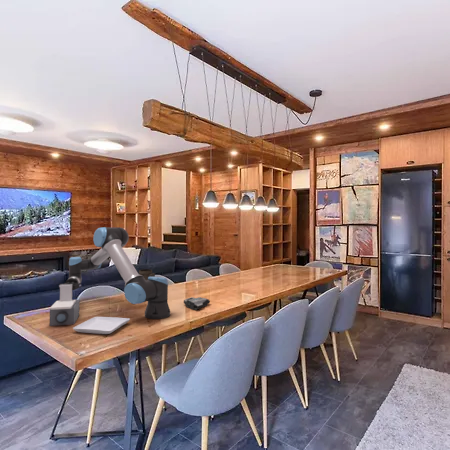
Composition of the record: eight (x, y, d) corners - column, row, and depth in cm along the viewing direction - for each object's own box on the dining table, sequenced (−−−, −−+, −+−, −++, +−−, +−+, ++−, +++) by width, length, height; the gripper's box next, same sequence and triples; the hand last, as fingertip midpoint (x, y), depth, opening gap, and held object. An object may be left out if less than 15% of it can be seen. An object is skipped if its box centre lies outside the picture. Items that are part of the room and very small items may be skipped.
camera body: (73, 325, 173) (73, 308, 173) (48, 327, 170) (48, 309, 170) (79, 314, 193) (79, 299, 193) (56, 316, 190) (57, 300, 189)
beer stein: (134, 296, 243) (135, 269, 242) (142, 293, 253) (144, 268, 252) (151, 299, 237) (153, 272, 237) (159, 296, 247) (161, 270, 247)
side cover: (71, 308, 172) (71, 289, 172) (50, 309, 169) (50, 290, 169) (76, 301, 187) (76, 284, 187) (56, 302, 184) (57, 284, 184)
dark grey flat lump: (211, 304, 223) (211, 297, 223) (198, 311, 204) (199, 303, 204) (189, 302, 229) (189, 295, 229) (175, 309, 209) (175, 301, 209)
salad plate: (71, 334, 161) (71, 327, 161) (95, 321, 182) (95, 315, 182) (110, 337, 157) (110, 330, 157) (130, 324, 178) (130, 318, 178)
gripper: (83, 288, 210) (77, 296, 187) (61, 289, 206) (52, 298, 183) (83, 277, 210) (77, 283, 187) (61, 277, 206) (52, 284, 183)
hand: (65, 290), depth 185 cm, fingers closed
